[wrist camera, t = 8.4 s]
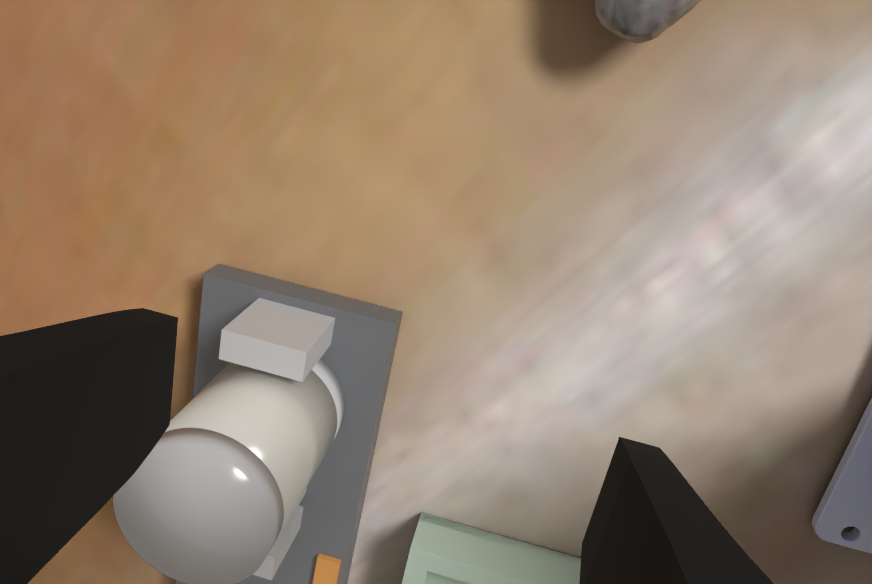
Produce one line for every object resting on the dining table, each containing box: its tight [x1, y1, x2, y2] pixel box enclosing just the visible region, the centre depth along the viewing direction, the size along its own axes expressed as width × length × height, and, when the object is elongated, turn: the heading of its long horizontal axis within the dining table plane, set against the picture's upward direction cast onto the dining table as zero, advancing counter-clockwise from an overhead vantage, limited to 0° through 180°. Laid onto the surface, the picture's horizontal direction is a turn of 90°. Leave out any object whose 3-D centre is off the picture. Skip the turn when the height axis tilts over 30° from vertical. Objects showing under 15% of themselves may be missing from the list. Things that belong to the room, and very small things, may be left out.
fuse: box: [113, 358, 345, 584], centre depth 20 cm, size 4×4×6 cm
